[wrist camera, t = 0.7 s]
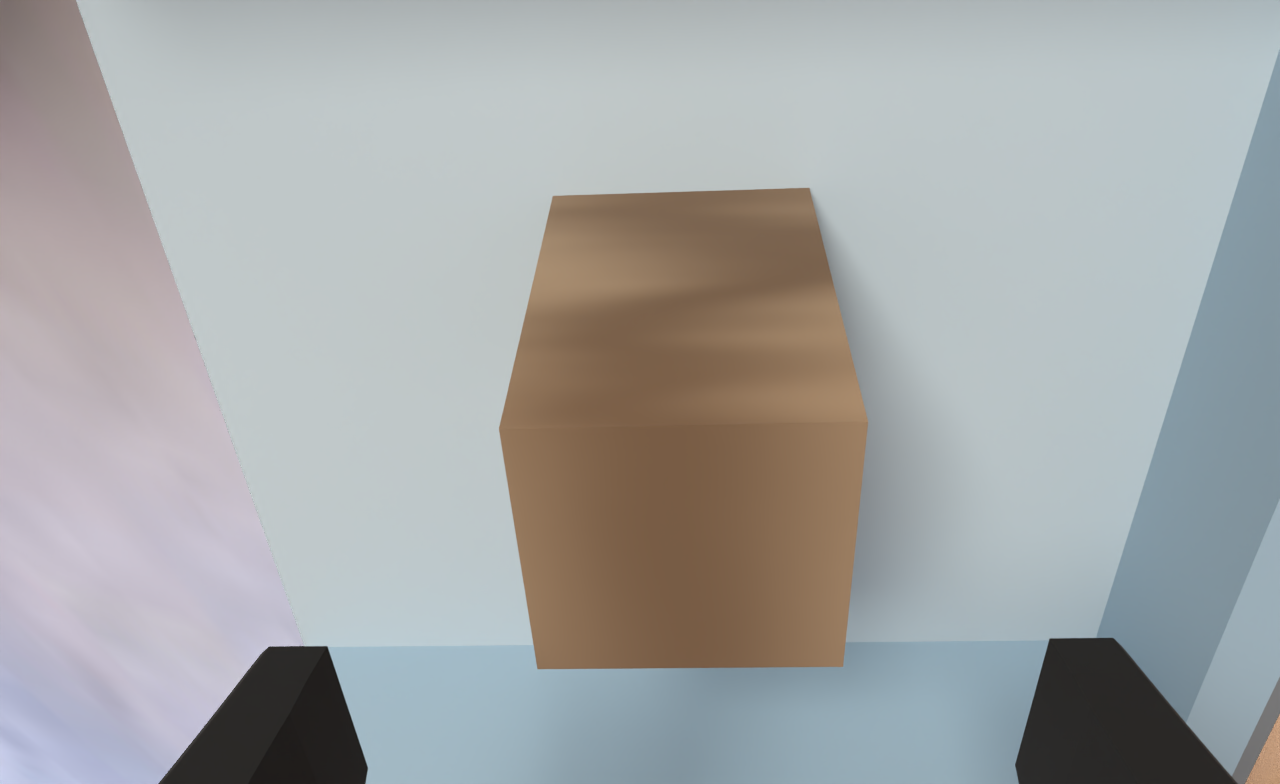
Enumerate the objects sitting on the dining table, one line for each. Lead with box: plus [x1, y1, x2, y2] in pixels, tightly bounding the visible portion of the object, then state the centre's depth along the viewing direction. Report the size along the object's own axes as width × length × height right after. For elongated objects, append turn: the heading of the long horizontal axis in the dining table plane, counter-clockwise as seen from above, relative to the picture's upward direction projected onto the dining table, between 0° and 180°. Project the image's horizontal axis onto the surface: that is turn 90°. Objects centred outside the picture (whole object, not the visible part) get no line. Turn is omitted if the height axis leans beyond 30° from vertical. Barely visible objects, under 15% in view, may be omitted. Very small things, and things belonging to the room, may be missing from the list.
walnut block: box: [499, 188, 868, 669], centre depth 15 cm, size 4×4×6 cm
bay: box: [76, 0, 1280, 784], centre depth 16 cm, size 18×19×5 cm
